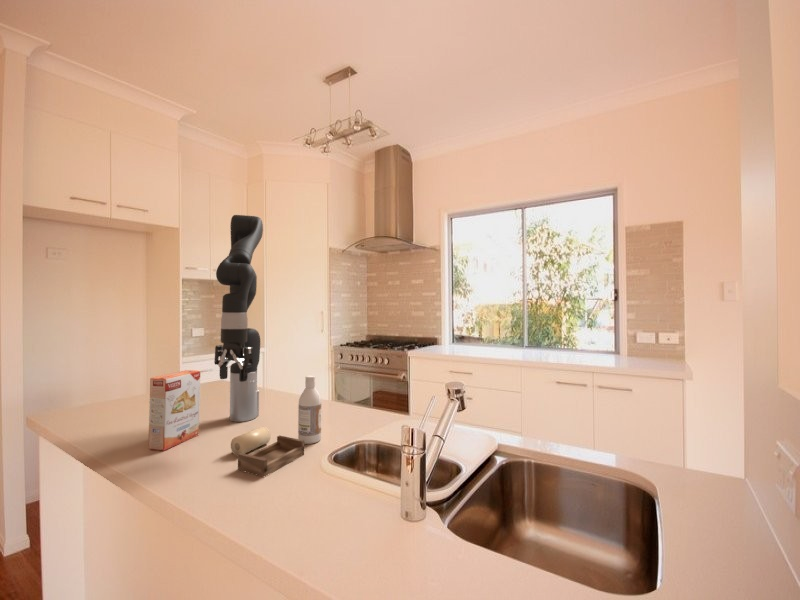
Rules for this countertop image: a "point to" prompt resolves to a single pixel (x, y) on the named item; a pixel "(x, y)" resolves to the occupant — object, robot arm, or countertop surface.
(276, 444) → the cradle
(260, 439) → the roll
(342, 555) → the countertop surface
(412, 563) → the countertop surface
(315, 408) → the bath foam
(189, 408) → the cracker box
